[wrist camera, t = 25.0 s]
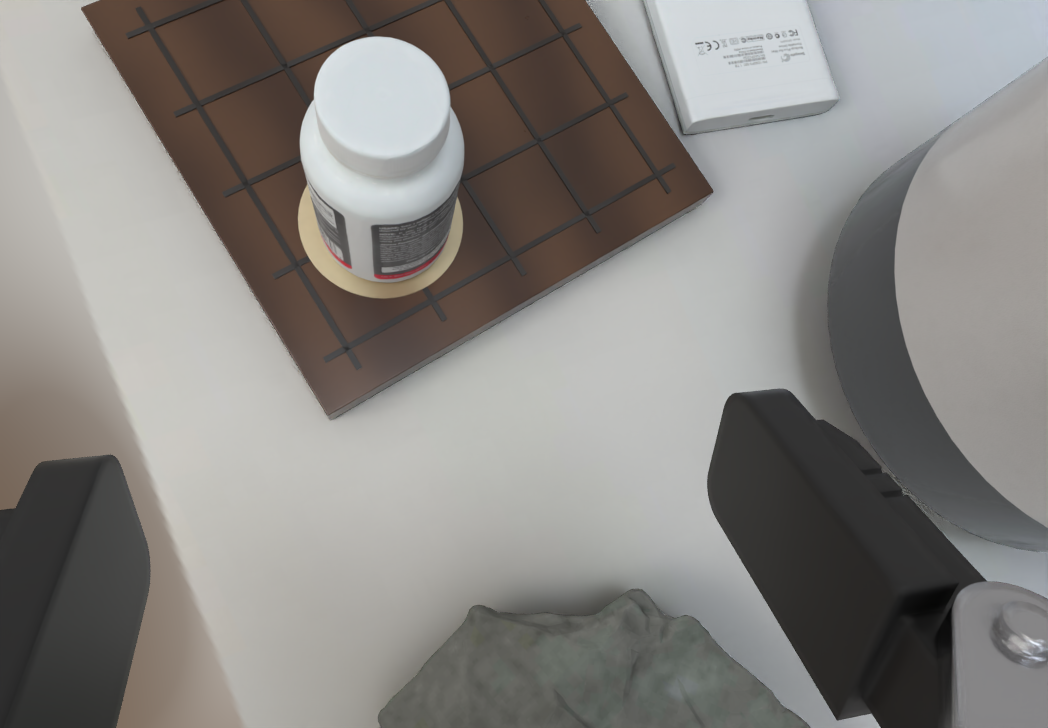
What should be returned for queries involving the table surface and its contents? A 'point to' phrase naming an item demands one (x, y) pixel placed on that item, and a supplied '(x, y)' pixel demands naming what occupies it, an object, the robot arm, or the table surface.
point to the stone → (584, 675)
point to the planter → (956, 317)
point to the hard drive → (741, 61)
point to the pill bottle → (382, 158)
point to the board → (486, 182)
